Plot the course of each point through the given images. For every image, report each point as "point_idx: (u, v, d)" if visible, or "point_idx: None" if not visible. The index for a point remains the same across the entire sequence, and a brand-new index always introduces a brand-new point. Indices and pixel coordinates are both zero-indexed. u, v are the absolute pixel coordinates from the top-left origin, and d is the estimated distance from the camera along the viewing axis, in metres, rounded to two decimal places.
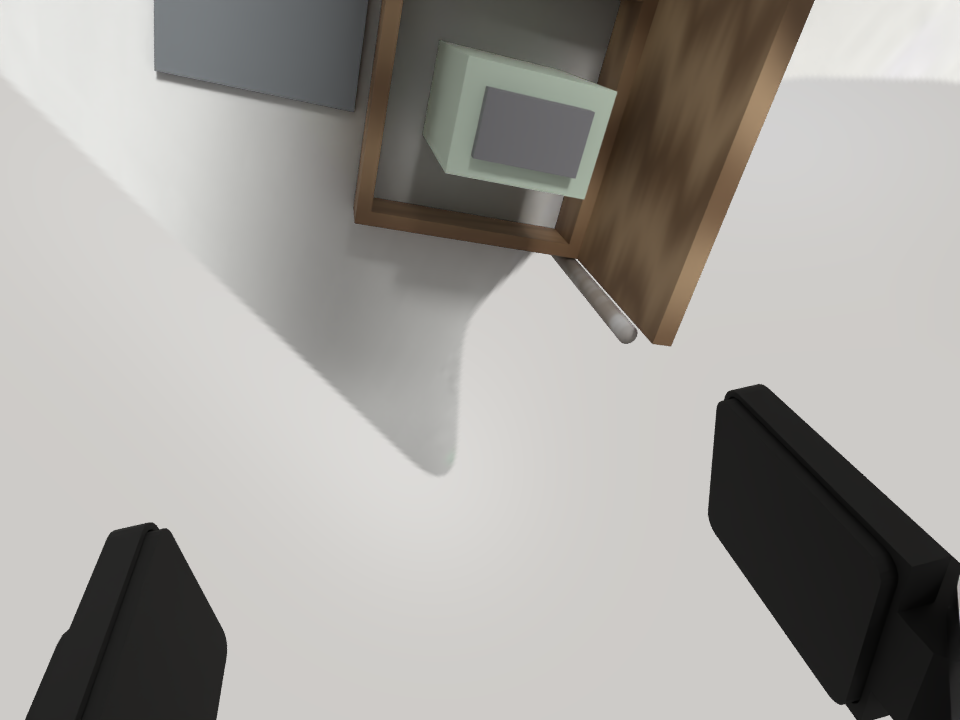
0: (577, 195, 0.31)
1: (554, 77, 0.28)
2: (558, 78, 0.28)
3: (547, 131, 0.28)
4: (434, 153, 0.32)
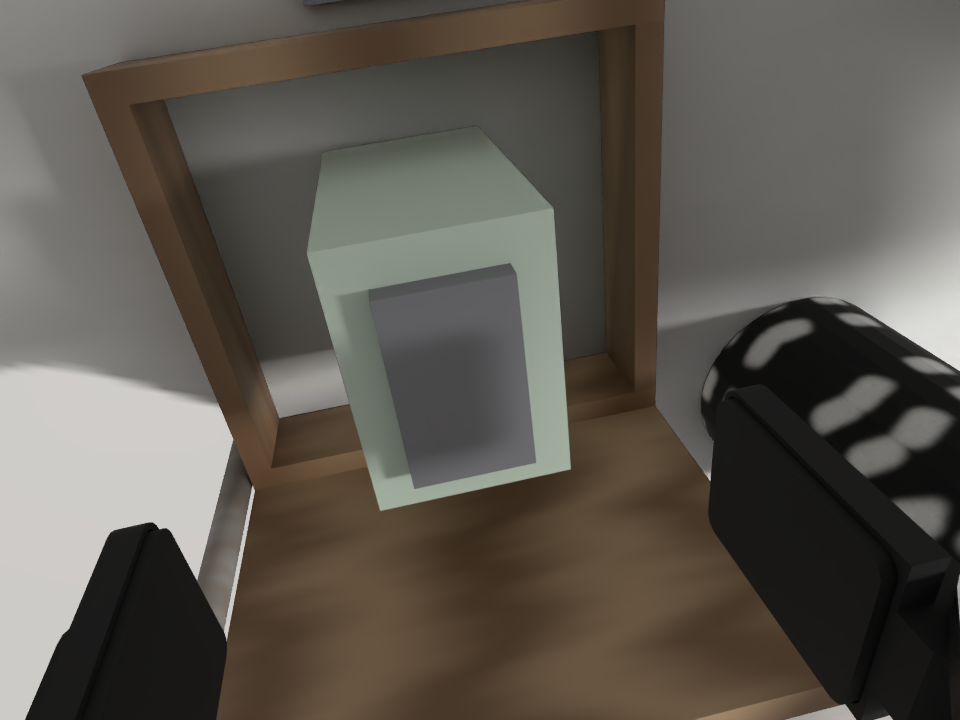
0: (382, 498, 0.16)
1: (562, 370, 0.15)
2: (562, 377, 0.15)
3: (476, 408, 0.14)
4: (317, 197, 0.16)
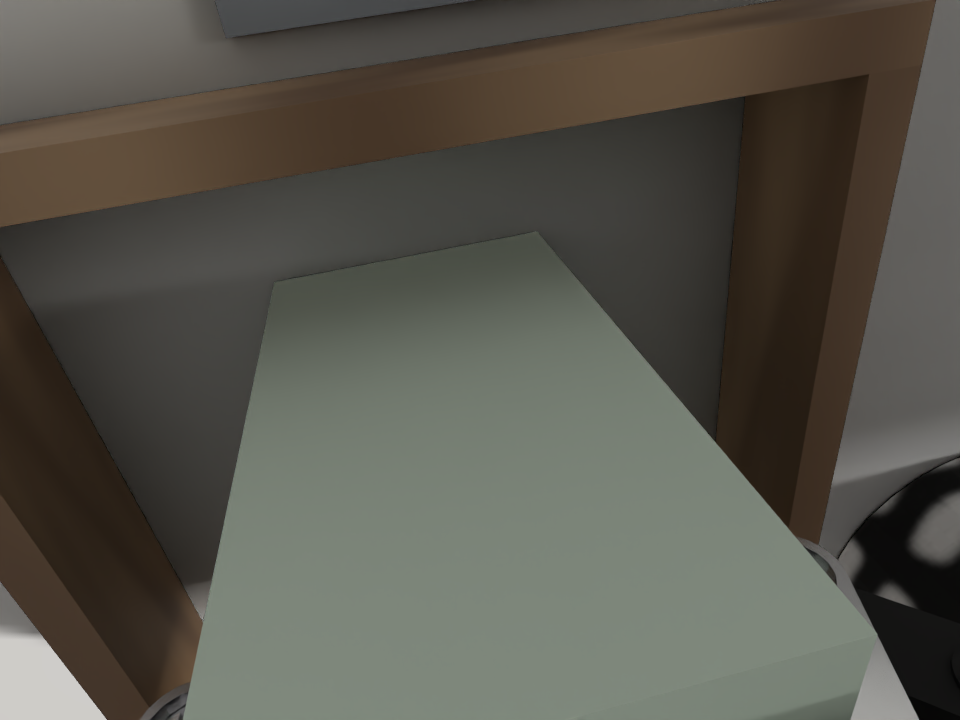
0: None
1: None
2: None
3: None
4: (242, 454, 0.07)
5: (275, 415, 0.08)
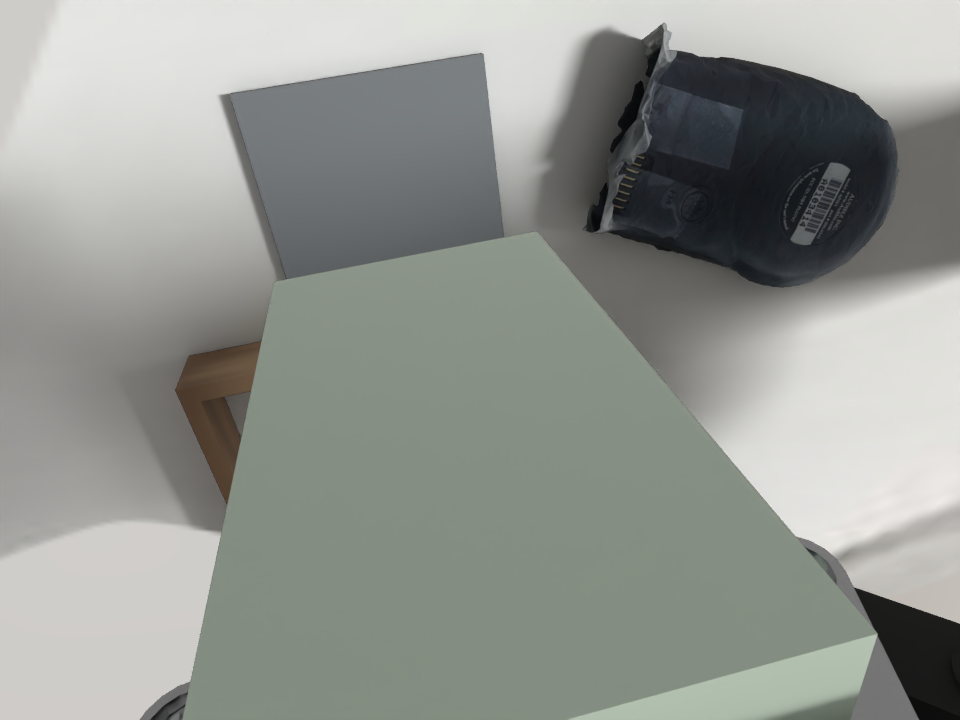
0: None
1: None
2: None
3: None
4: (242, 454, 0.07)
5: (275, 415, 0.08)
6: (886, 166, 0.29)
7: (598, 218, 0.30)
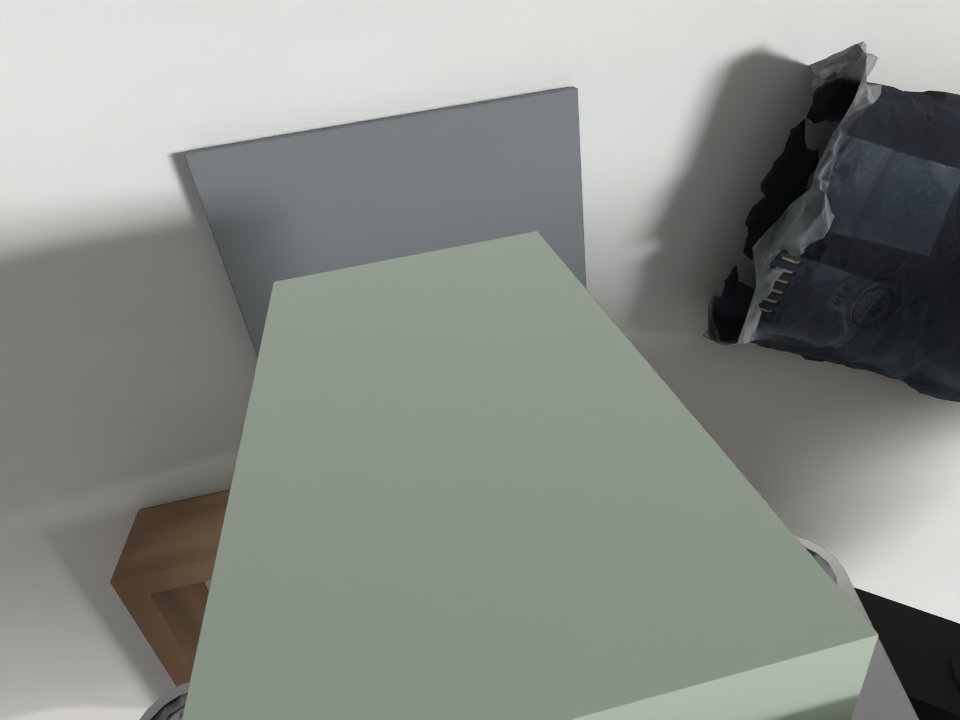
0: None
1: None
2: None
3: None
4: (241, 454, 0.07)
5: (274, 415, 0.08)
6: None
7: (722, 316, 0.21)
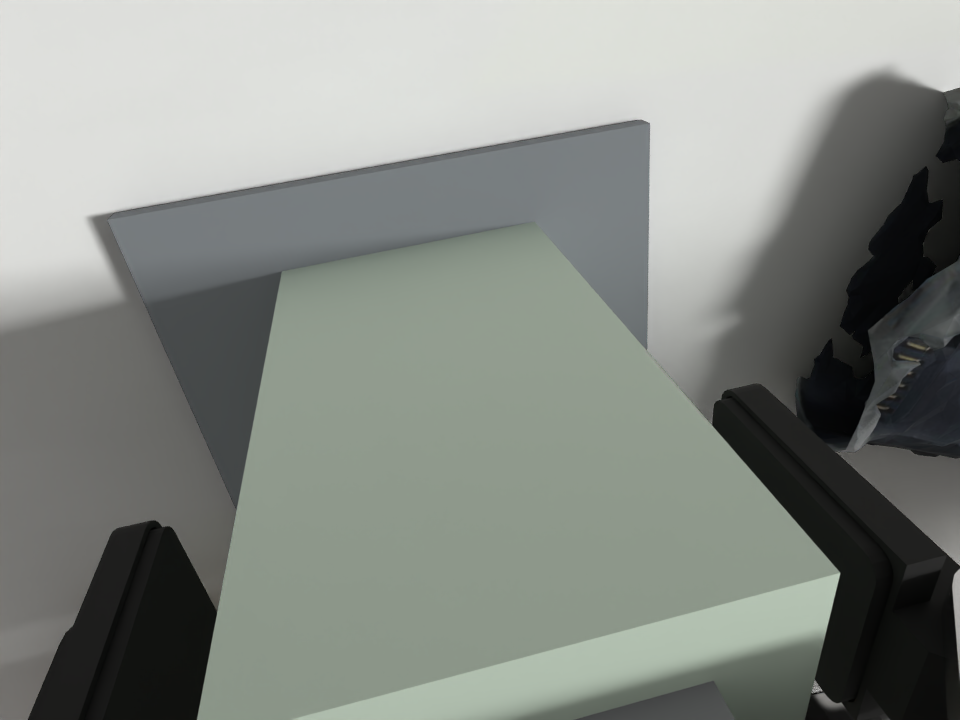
0: None
1: None
2: None
3: None
4: (256, 427, 0.08)
5: (286, 392, 0.08)
6: None
7: (811, 403, 0.17)
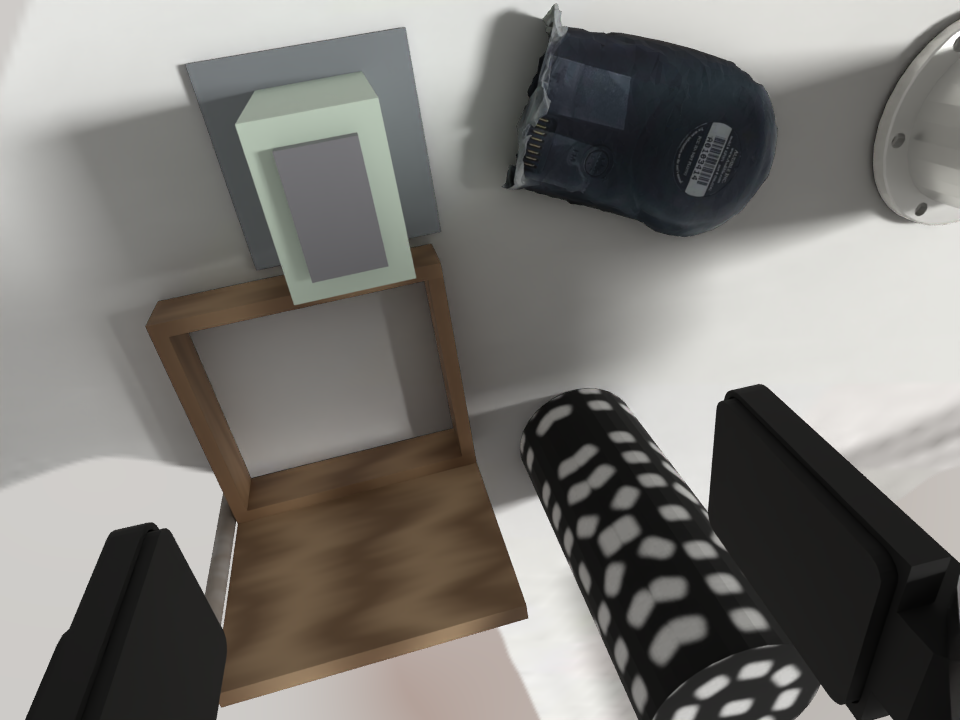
0: (294, 295, 0.25)
1: (399, 205, 0.24)
2: (400, 210, 0.25)
3: (345, 225, 0.24)
4: (246, 107, 0.25)
5: (255, 103, 0.26)
6: (763, 125, 0.34)
7: None
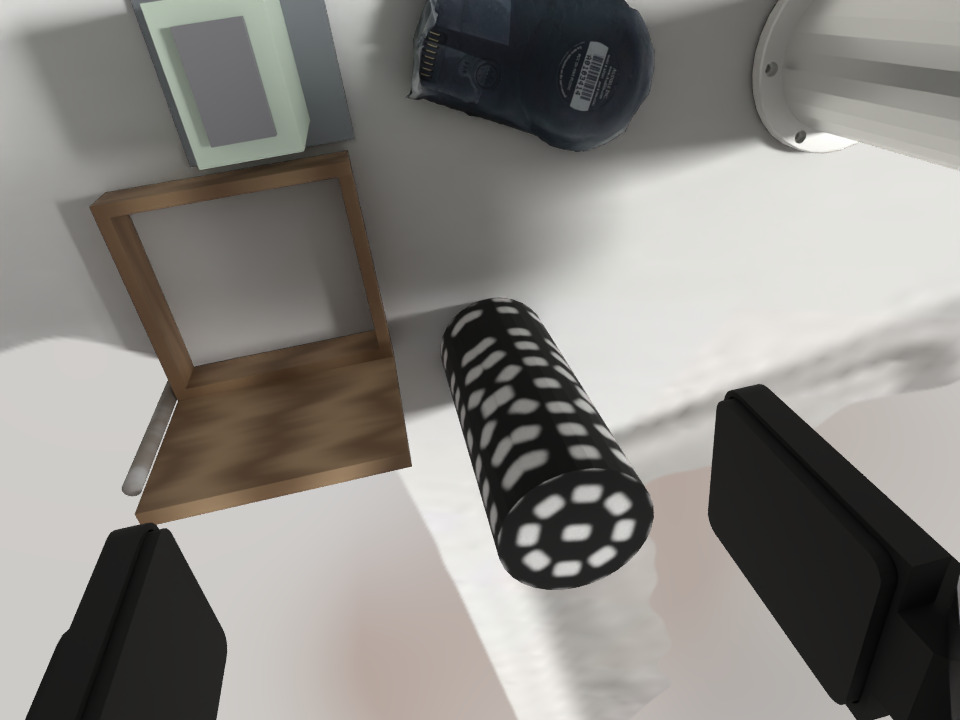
0: (199, 160, 0.30)
1: (284, 83, 0.29)
2: (286, 88, 0.29)
3: (236, 96, 0.29)
4: None
5: None
6: (638, 45, 0.38)
7: None
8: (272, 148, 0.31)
